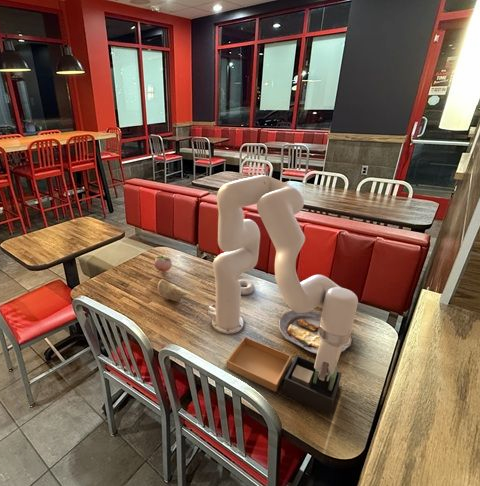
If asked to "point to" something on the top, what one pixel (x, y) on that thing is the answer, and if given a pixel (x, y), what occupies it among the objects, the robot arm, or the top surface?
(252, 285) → the donut
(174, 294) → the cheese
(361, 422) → the top surface
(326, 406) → the black basket
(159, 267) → the decorative fruit
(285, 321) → the food plate
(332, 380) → the sage cube
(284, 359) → the brown wooden tray
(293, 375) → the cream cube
